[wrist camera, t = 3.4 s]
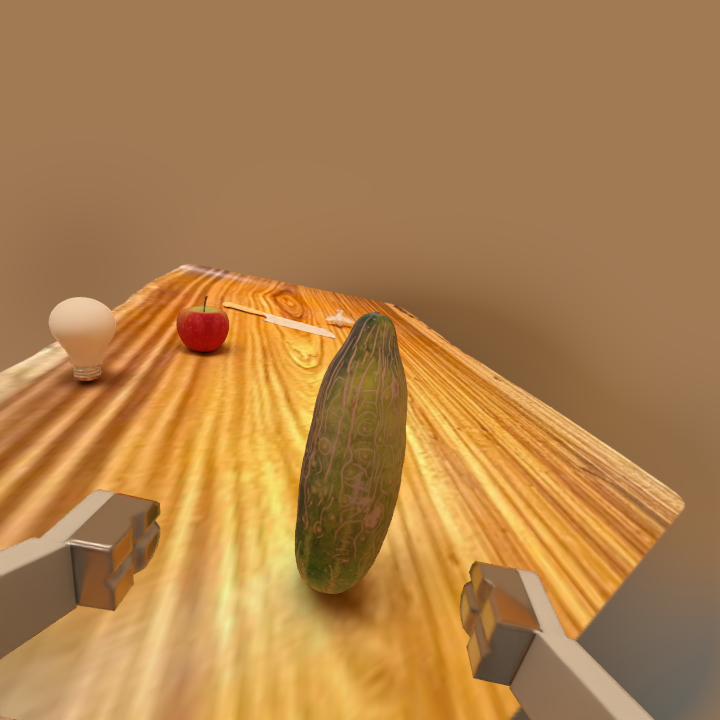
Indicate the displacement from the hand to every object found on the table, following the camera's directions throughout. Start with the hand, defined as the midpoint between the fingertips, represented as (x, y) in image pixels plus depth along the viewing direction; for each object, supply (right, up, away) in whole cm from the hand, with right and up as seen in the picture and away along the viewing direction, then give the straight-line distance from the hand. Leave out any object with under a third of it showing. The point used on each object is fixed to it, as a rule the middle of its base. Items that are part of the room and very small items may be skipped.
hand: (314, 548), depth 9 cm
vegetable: (-1, -12, +17) cm, 20 cm away
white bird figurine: (-4, +14, +87) cm, 88 cm away
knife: (-19, +14, +81) cm, 85 cm away
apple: (-27, +7, +56) cm, 62 cm away
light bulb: (-34, +2, +39) cm, 52 cm away
